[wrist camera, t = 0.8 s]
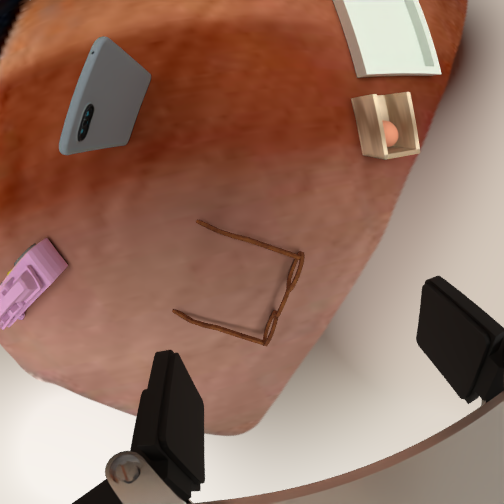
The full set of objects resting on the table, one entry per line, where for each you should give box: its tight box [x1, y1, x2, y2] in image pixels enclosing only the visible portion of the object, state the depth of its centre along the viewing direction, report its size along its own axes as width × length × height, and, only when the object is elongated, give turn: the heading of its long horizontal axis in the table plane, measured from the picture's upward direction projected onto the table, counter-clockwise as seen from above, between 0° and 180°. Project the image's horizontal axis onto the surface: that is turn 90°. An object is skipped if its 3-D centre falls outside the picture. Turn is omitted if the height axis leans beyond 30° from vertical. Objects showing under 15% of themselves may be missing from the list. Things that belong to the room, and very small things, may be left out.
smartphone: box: [59, 37, 151, 155], centre depth 21 cm, size 8×1×15 cm, turn 159°
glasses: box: [172, 220, 304, 346], centre depth 35 cm, size 13×13×5 cm
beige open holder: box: [351, 92, 420, 160], centre depth 29 cm, size 7×5×5 cm
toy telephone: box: [0, 238, 68, 330], centre depth 29 cm, size 18×6×10 cm, turn 122°
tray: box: [333, 0, 441, 78], centre depth 24 cm, size 18×12×2 cm, turn 14°
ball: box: [382, 120, 398, 147], centre depth 30 cm, size 3×3×3 cm
